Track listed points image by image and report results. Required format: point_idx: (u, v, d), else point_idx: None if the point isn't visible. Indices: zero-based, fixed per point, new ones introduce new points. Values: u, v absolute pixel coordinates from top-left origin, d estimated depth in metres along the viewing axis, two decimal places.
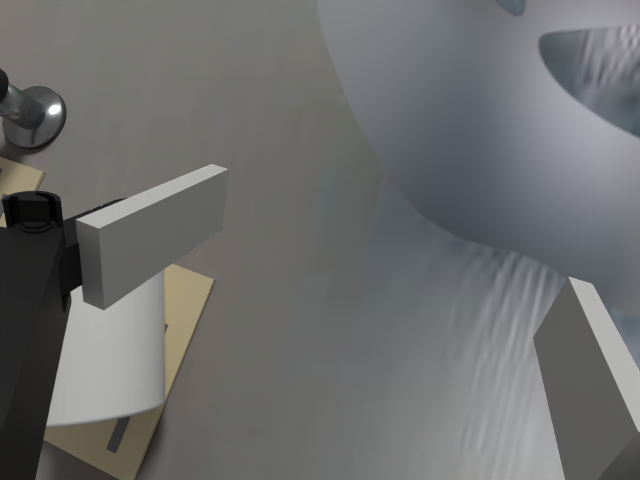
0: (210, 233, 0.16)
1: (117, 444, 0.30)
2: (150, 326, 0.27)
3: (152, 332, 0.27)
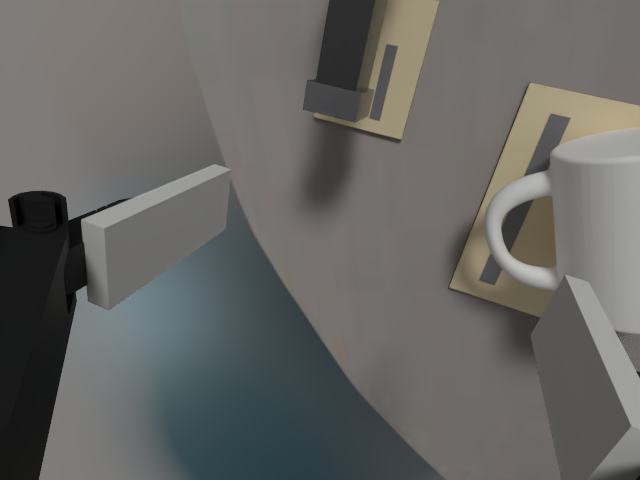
0: (213, 233, 0.17)
1: None
2: None
3: None
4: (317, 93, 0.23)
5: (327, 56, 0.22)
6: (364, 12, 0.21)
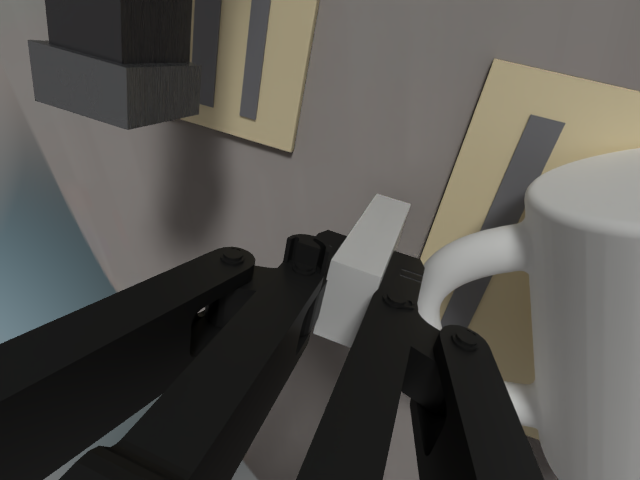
0: None
1: None
2: None
3: None
4: (51, 68, 0.11)
5: None
6: None
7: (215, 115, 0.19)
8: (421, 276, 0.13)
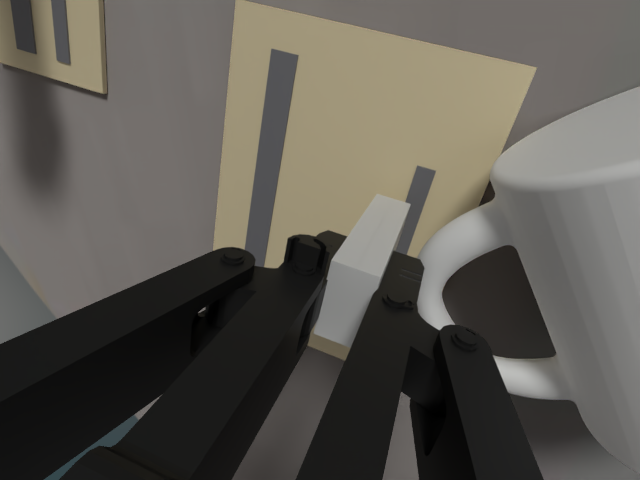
0: None
1: None
2: None
3: None
4: None
5: None
6: None
7: (39, 61, 0.21)
8: (421, 276, 0.13)
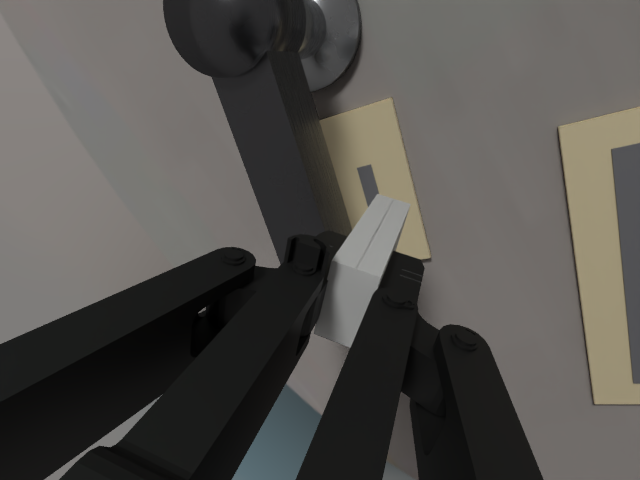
0: None
1: None
2: None
3: None
4: None
5: (284, 248, 0.17)
6: (298, 184, 0.15)
7: None
8: (421, 276, 0.13)
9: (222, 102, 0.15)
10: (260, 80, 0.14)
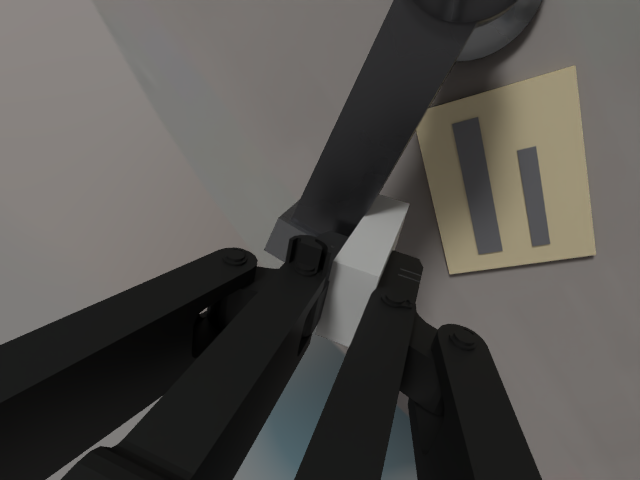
0: None
1: None
2: None
3: None
4: (289, 238, 0.16)
5: (314, 196, 0.15)
6: (382, 160, 0.14)
7: (506, 255, 0.21)
8: (419, 275, 0.13)
9: (385, 19, 0.12)
10: (443, 41, 0.12)
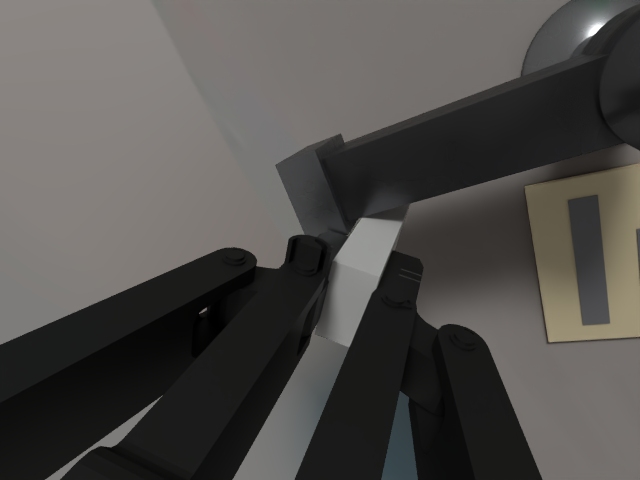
0: None
1: None
2: None
3: None
4: (308, 175, 0.14)
5: (362, 157, 0.14)
6: (447, 179, 0.13)
7: (613, 327, 0.21)
8: (420, 276, 0.13)
9: (564, 70, 0.11)
10: (586, 133, 0.11)
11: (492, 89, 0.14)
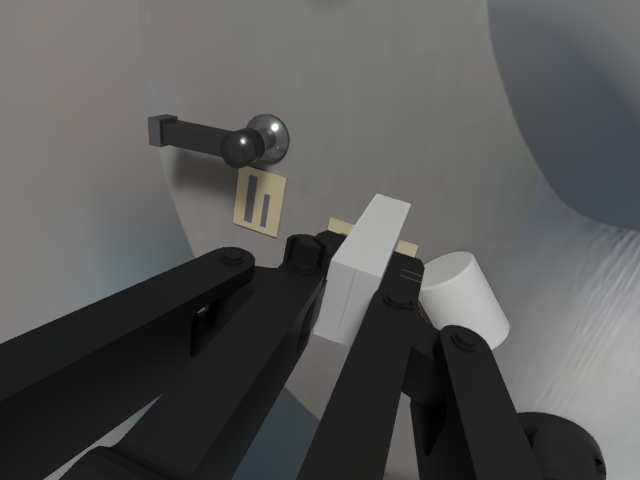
0: None
1: None
2: (491, 293, 0.47)
3: (492, 295, 0.47)
4: (155, 125, 0.48)
5: (171, 129, 0.48)
6: (189, 146, 0.48)
7: (252, 225, 0.59)
8: (421, 276, 0.13)
9: (217, 134, 0.46)
10: (218, 151, 0.47)
11: (214, 129, 0.48)
